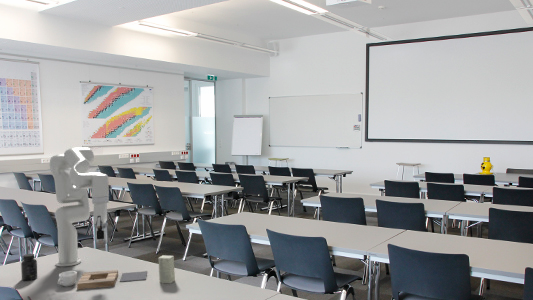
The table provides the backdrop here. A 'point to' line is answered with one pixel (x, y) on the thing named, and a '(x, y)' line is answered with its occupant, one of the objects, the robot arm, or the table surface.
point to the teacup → (67, 278)
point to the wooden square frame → (97, 279)
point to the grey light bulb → (104, 241)
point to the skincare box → (166, 269)
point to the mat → (133, 276)
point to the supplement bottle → (29, 267)
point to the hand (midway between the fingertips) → (101, 237)
